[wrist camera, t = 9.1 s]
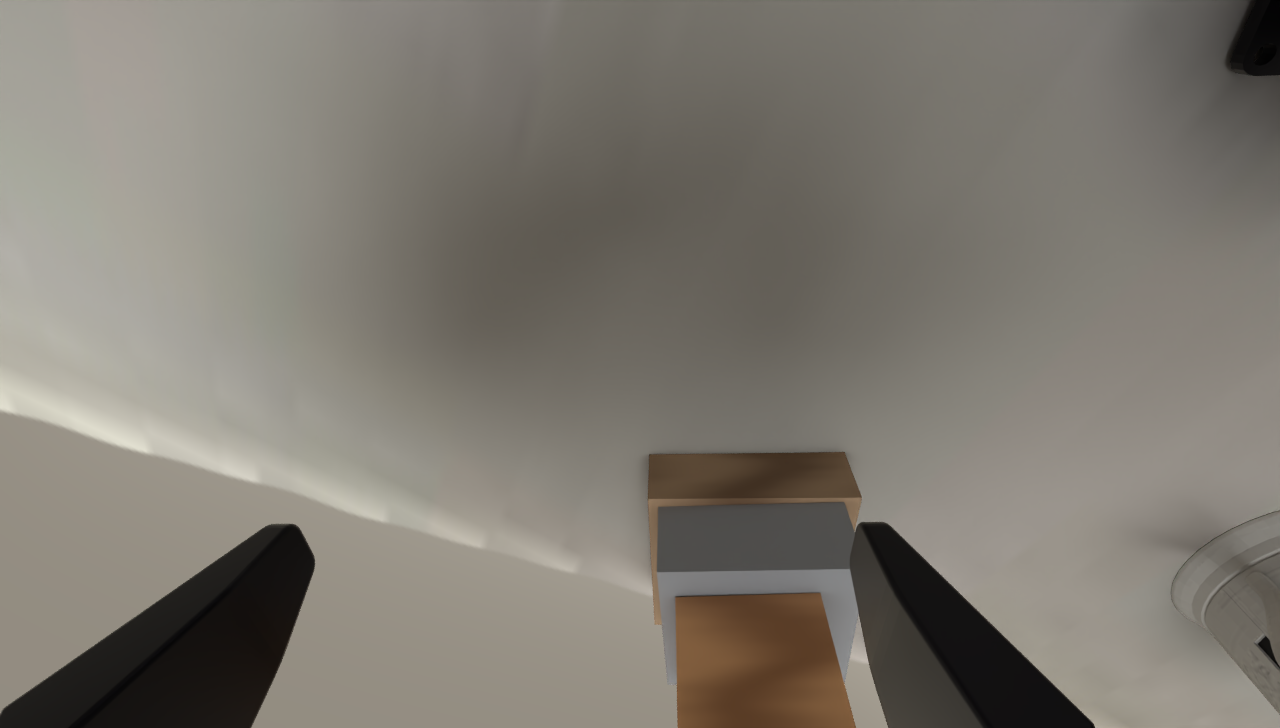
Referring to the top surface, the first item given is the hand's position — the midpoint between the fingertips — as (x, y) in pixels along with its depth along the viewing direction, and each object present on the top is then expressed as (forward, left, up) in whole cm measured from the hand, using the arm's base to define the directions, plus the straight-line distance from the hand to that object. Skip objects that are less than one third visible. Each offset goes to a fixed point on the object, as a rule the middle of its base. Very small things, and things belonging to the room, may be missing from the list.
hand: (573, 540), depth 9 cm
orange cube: (-4, +13, -6) cm, 15 cm away
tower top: (-5, +13, -10) cm, 17 cm away
